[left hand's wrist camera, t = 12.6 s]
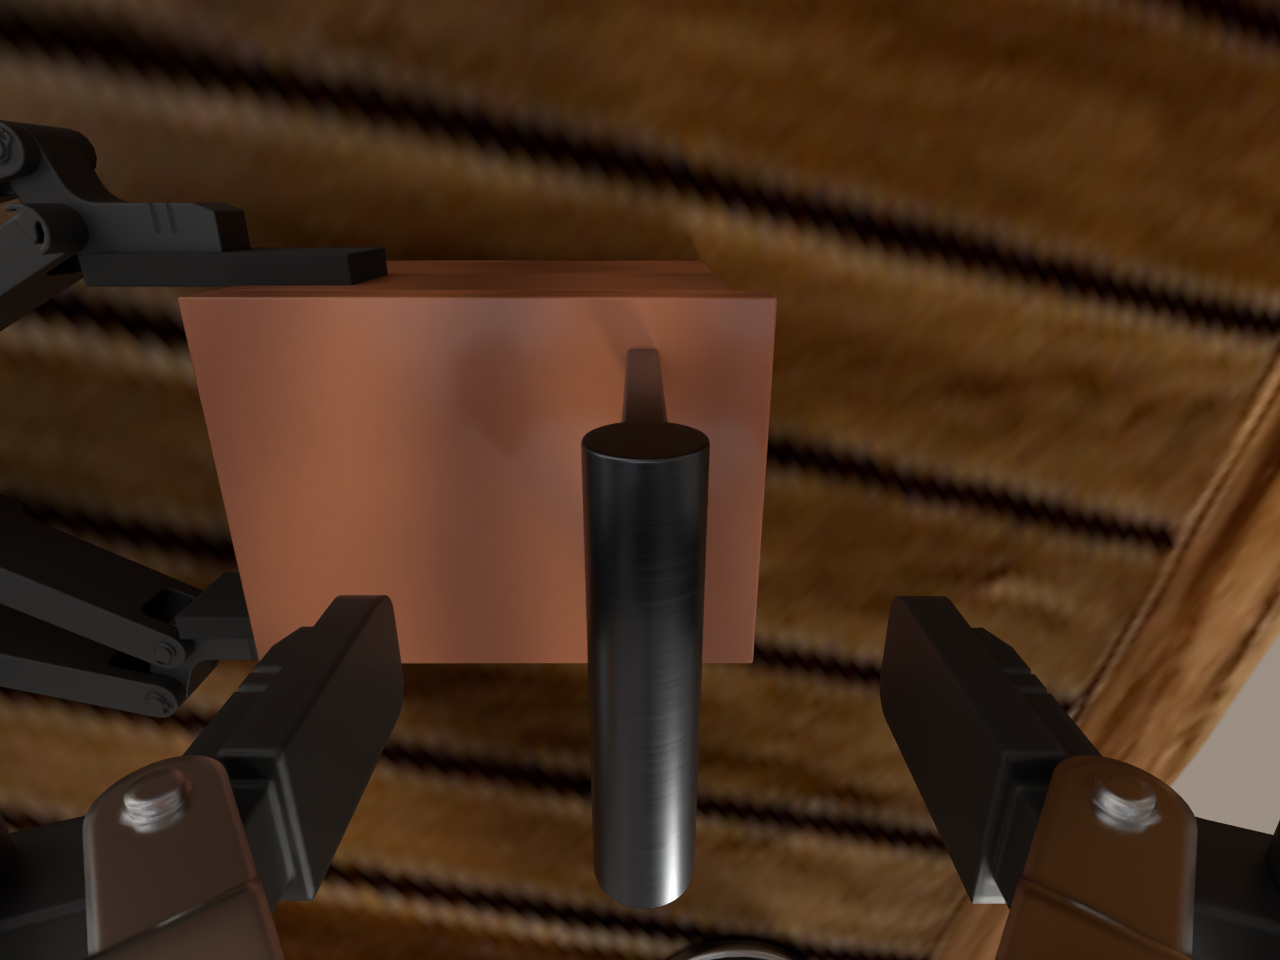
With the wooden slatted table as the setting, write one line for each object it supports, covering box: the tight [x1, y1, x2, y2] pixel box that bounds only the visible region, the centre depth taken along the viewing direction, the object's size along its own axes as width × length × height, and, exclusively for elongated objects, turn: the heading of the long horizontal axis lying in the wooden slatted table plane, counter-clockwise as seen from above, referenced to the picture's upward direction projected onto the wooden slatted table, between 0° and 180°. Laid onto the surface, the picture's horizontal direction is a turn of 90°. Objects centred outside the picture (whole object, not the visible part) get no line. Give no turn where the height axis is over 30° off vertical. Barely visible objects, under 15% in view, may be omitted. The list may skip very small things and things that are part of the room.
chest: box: [216, 260, 732, 290], centre depth 23 cm, size 12×9×9 cm
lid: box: [178, 290, 777, 909], centre depth 14 cm, size 13×9×9 cm
